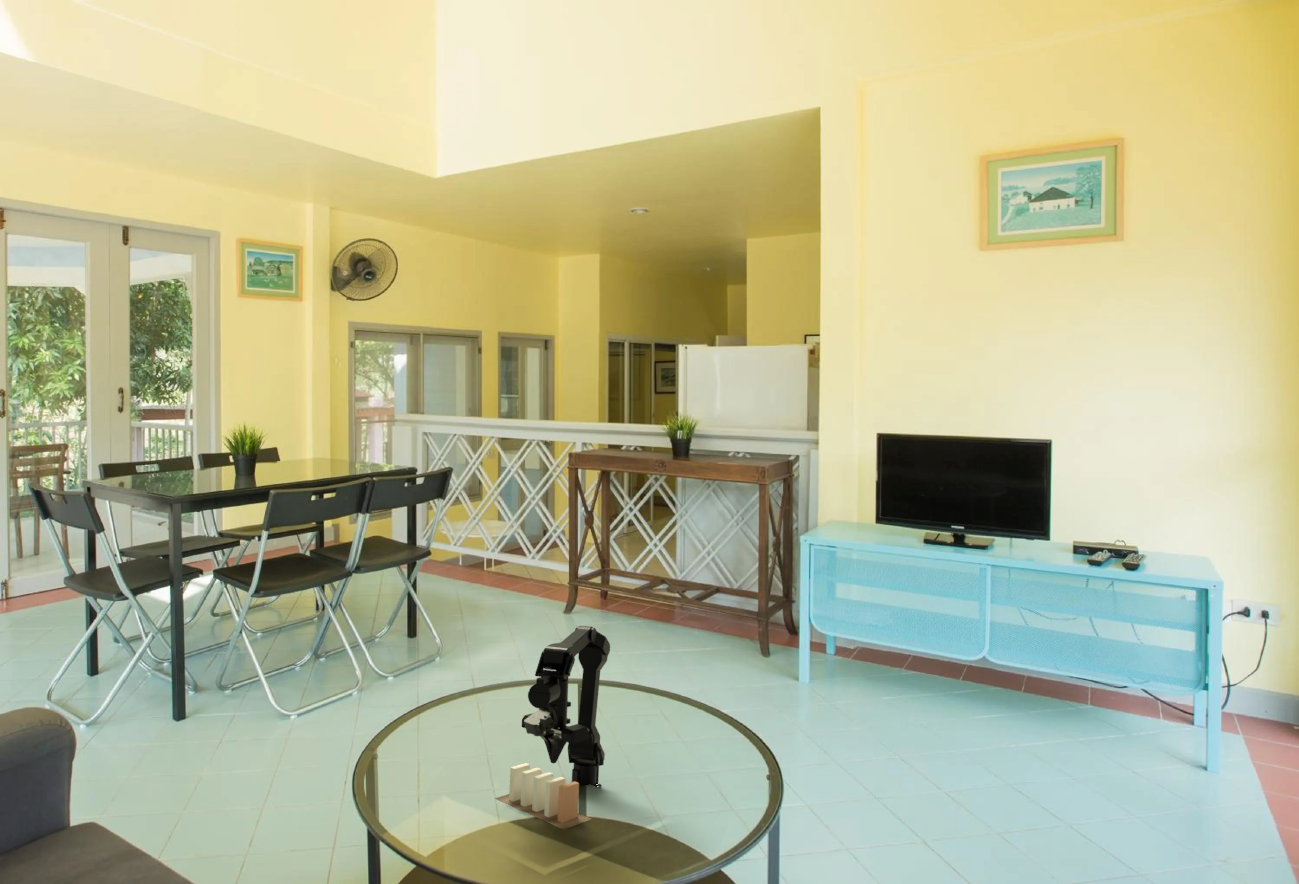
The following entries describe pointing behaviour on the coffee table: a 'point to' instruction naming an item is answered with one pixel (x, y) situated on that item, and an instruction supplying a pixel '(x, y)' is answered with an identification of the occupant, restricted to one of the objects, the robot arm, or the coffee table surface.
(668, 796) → the coffee table surface
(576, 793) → the terracotta domino
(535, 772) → the ivory domino
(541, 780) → the ivory domino
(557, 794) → the ivory domino
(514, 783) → the ivory domino
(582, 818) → the walnut board
